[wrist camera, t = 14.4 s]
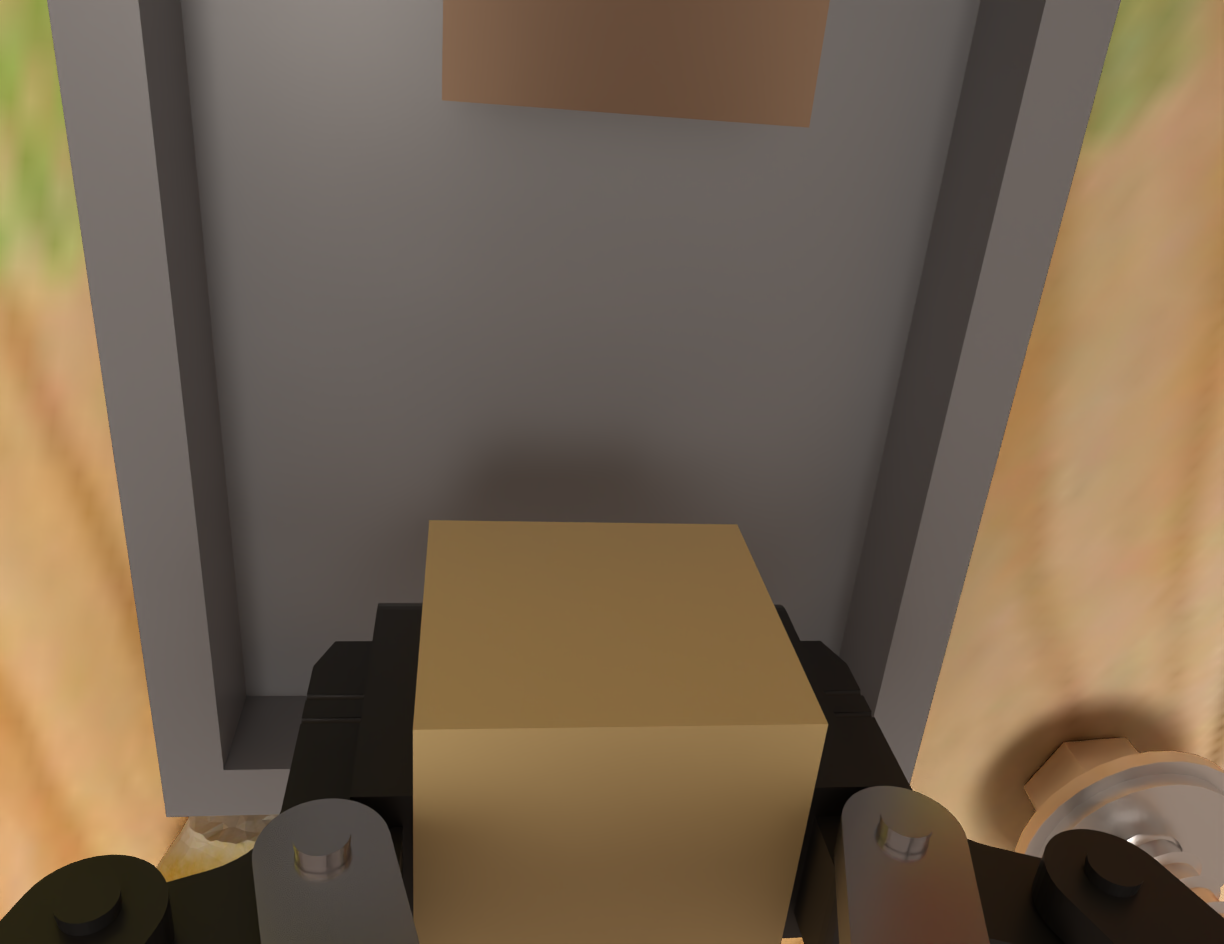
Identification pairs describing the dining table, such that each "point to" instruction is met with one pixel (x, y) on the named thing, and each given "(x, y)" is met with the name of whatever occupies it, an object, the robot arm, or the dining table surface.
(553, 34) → the walnut block
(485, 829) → the ochre block
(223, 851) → the bread roll
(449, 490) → the tray
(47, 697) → the dining table surface
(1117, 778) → the screw
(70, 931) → the robot arm
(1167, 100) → the dining table surface
